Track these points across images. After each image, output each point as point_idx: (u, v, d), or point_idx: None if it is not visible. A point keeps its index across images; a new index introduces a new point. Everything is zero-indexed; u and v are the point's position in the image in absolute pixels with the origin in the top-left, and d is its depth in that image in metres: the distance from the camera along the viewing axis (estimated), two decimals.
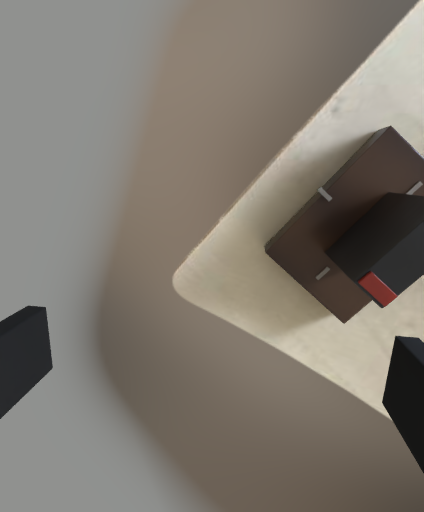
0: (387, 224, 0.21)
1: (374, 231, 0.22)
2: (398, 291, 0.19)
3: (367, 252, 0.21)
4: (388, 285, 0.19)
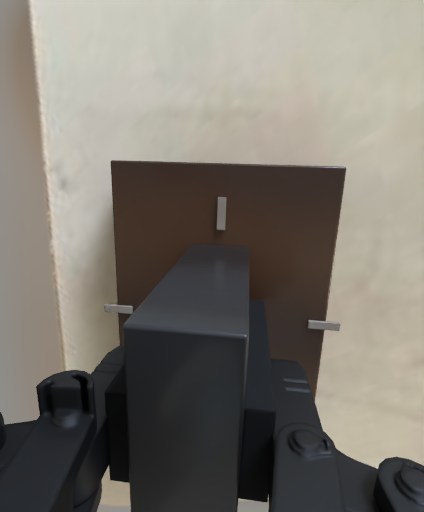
0: None
1: None
2: None
3: None
4: None
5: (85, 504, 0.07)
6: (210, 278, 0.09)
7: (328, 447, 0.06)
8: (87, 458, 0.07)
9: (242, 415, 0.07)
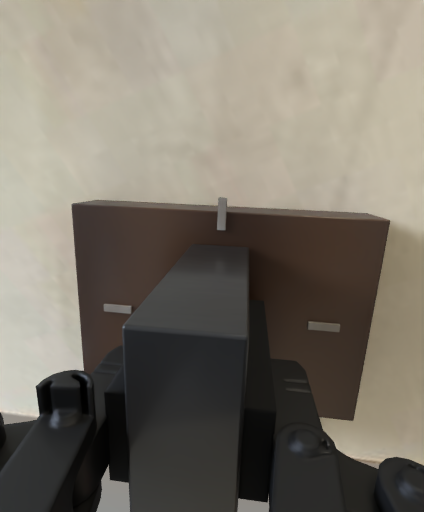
0: None
1: None
2: None
3: None
4: None
5: (85, 504, 0.07)
6: (210, 279, 0.09)
7: (329, 447, 0.06)
8: (87, 458, 0.07)
9: (242, 416, 0.06)
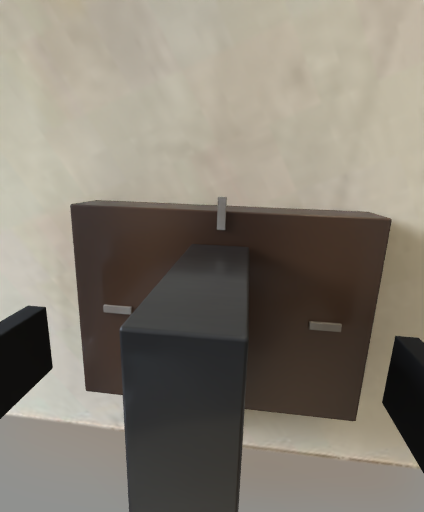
0: None
1: None
2: None
3: None
4: None
5: None
6: (209, 279, 0.09)
7: None
8: None
9: (242, 419, 0.06)
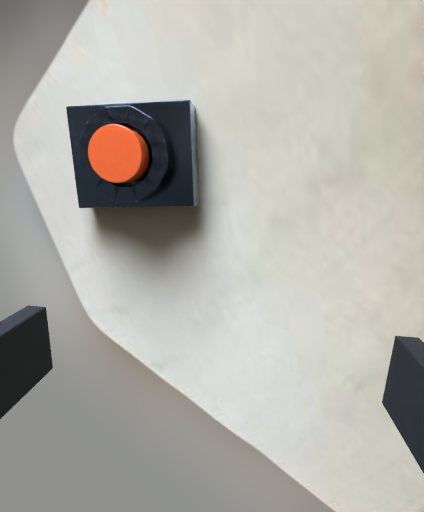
0: None
1: None
2: None
3: None
4: None
5: None
6: None
7: None
8: None
9: None
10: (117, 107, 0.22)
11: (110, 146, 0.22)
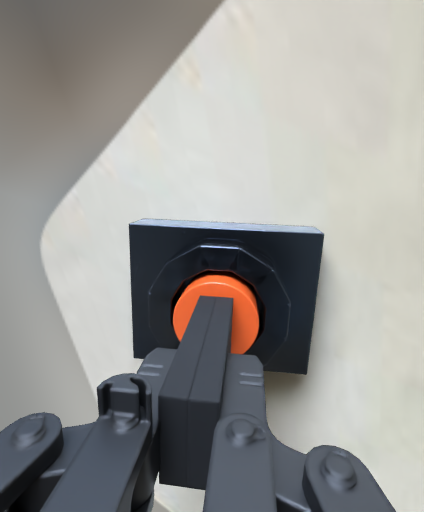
0: None
1: None
2: None
3: None
4: None
5: (139, 511, 0.07)
6: None
7: (263, 434, 0.07)
8: (143, 465, 0.07)
9: None
10: (219, 249, 0.14)
11: None
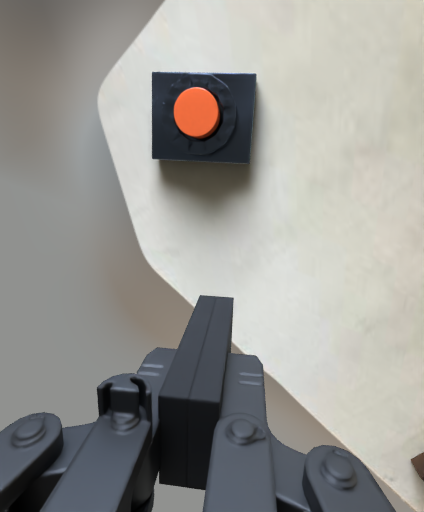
0: None
1: None
2: None
3: None
4: None
5: (139, 511, 0.07)
6: None
7: (263, 433, 0.07)
8: (143, 465, 0.07)
9: None
10: (199, 74, 0.28)
11: (193, 105, 0.27)
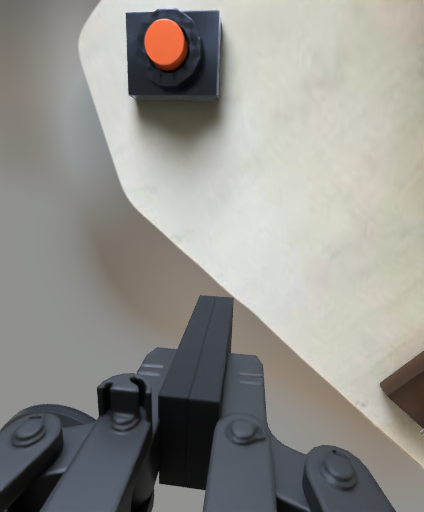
0: None
1: None
2: None
3: None
4: None
5: (139, 511, 0.07)
6: None
7: (263, 434, 0.07)
8: (143, 465, 0.07)
9: None
10: (167, 9, 0.31)
11: (161, 36, 0.30)
